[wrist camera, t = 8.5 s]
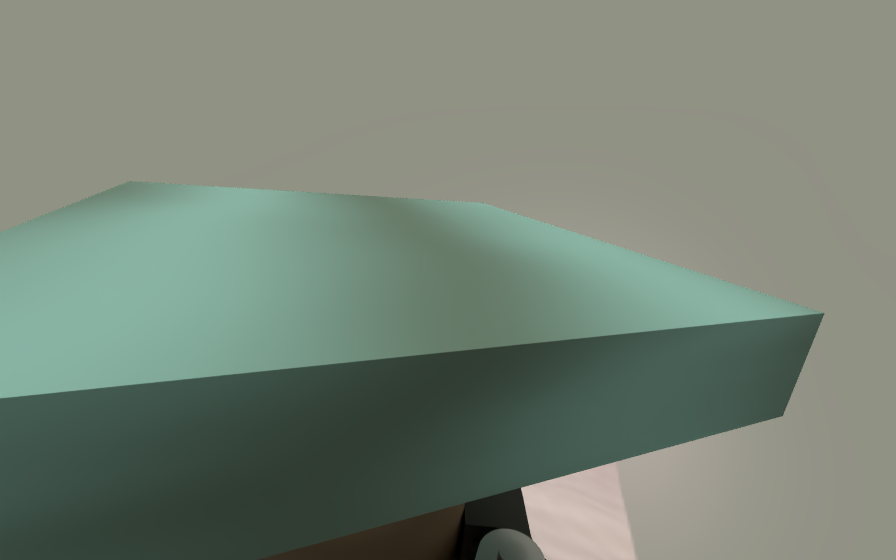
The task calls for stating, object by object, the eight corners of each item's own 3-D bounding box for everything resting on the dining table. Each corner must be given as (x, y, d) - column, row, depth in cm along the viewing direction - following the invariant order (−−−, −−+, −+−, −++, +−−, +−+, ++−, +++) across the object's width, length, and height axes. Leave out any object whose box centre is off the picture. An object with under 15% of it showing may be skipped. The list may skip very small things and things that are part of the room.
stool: (59, 1300, 5) (-575, 457, 1) (177, 601, 13) (129, 181, 9) (598, 868, 9) (823, 312, 5) (440, 525, 17) (483, 203, 13)
